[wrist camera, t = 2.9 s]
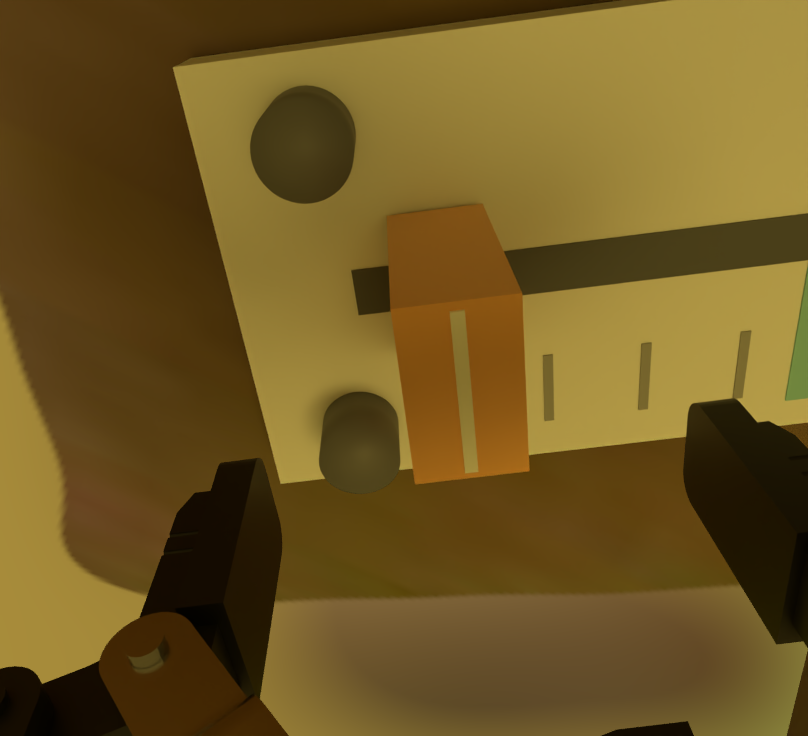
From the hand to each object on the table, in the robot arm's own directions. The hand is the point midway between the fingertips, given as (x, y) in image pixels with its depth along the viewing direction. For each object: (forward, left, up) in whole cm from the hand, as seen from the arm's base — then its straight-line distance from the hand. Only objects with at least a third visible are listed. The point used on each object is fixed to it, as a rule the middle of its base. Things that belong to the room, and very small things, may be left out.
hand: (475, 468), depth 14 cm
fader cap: (0, 0, -8) cm, 8 cm away
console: (0, +6, -10) cm, 12 cm away
